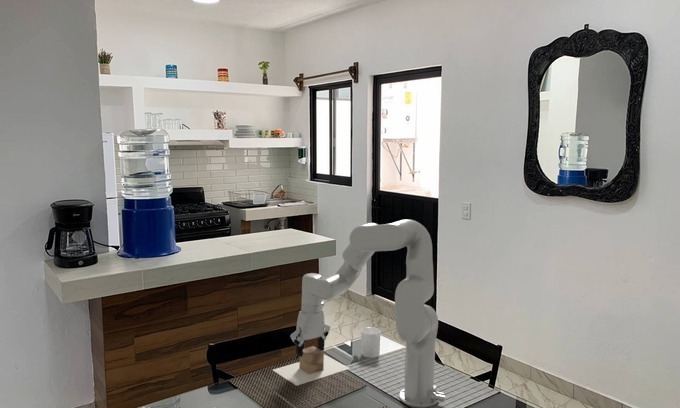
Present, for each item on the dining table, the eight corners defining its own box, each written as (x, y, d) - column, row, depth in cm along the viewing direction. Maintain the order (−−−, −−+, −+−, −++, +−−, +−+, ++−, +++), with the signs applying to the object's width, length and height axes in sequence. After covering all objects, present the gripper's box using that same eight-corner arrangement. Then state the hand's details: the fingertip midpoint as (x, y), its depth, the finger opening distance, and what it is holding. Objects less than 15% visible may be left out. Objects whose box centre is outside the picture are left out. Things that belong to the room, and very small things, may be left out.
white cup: (357, 352, 213) (358, 328, 211) (375, 350, 215) (376, 326, 214) (364, 359, 205) (365, 334, 204) (383, 357, 207) (383, 333, 206)
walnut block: (313, 363, 199) (313, 346, 198) (323, 369, 194) (323, 351, 193) (299, 368, 195) (299, 349, 194) (309, 374, 190) (309, 355, 189)
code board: (324, 356, 208) (324, 354, 208) (350, 369, 195) (350, 368, 195) (272, 371, 193) (272, 369, 193) (296, 387, 180) (296, 385, 180)
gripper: (324, 301, 200) (322, 344, 202) (286, 308, 189) (284, 354, 191) (336, 306, 194) (334, 350, 196) (297, 314, 183) (296, 361, 185)
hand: (310, 352), depth 194 cm, fingers open, 9 cm apart
